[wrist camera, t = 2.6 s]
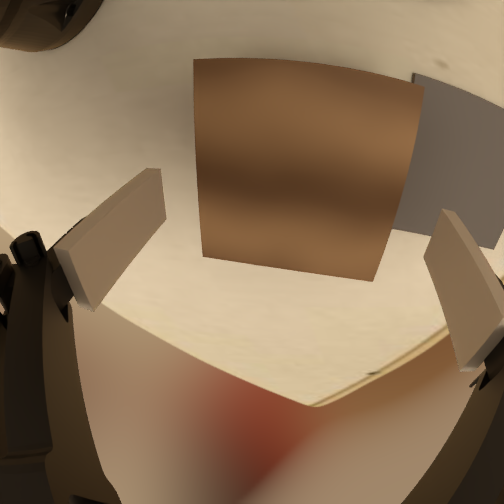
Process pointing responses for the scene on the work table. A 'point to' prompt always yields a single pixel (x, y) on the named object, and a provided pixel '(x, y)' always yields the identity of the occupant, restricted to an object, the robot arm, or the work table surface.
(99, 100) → the work table surface
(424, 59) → the work table surface
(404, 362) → the work table surface
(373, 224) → the wooden stool
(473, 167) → the mat
